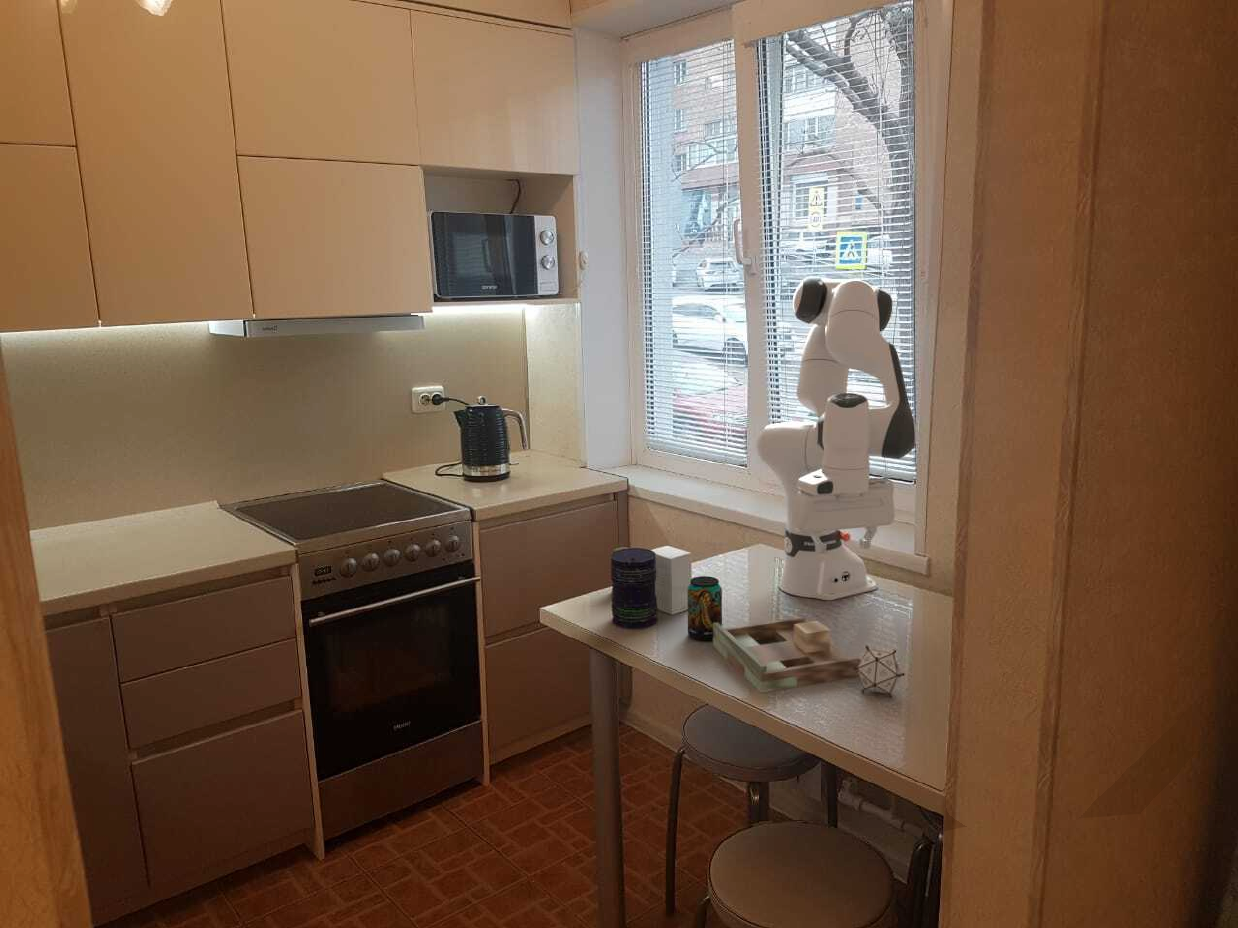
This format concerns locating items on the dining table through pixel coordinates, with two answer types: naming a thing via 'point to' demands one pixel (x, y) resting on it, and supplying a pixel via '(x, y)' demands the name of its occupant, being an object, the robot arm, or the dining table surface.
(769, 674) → the box
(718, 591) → the beverage can
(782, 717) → the dining table surface
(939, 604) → the dining table surface
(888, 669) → the game die
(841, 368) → the robot arm
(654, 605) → the storage jar
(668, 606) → the small box
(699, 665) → the dining table surface
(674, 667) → the dining table surface
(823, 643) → the beech block
